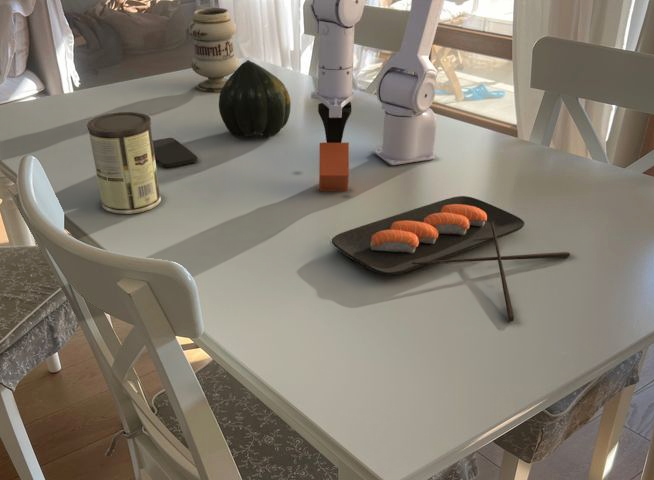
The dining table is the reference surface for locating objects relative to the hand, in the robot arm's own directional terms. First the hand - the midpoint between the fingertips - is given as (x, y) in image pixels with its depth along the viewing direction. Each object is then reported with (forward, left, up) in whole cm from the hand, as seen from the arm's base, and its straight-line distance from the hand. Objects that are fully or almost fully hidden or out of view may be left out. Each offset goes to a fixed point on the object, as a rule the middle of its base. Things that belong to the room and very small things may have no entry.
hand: (333, 146), depth 125 cm
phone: (+25, -26, -7) cm, 37 cm away
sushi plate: (-6, +35, -7) cm, 36 cm away
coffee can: (+36, -5, -7) cm, 37 cm away
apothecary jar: (+3, -71, -7) cm, 72 cm away
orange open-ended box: (0, +1, -5) cm, 5 cm away
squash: (+5, -32, -7) cm, 33 cm away
